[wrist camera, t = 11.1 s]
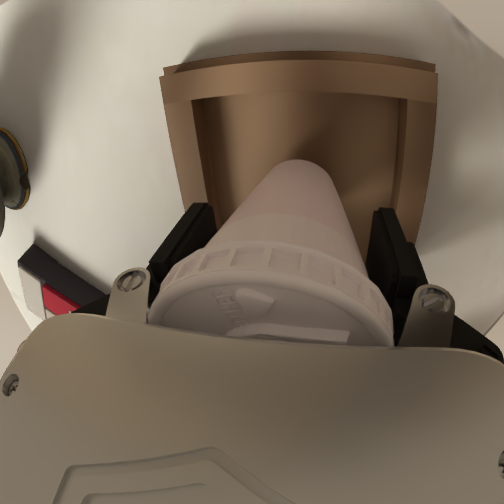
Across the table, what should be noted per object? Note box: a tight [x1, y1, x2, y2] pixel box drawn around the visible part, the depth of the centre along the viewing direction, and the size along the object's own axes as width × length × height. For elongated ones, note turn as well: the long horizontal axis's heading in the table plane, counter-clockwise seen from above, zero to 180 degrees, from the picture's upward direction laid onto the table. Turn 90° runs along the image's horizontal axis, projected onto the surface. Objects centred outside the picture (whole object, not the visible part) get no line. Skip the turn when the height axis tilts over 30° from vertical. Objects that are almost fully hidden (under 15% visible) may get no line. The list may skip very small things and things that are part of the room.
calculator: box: [18, 244, 106, 320], centre depth 31 cm, size 11×4×15 cm
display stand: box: [159, 51, 438, 265], centre depth 13 cm, size 14×14×10 cm
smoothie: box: [148, 160, 395, 347], centre depth 9 cm, size 6×6×14 cm
